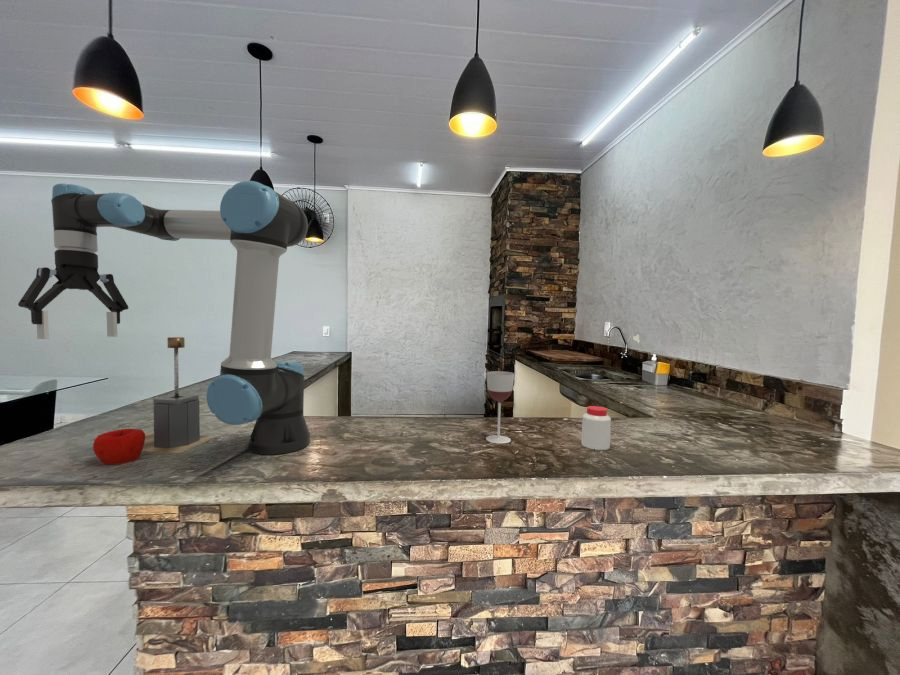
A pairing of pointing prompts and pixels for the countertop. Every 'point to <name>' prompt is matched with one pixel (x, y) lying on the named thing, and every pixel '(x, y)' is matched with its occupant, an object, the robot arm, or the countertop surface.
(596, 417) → the pill bottle
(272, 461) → the countertop surface
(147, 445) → the board
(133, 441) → the apple
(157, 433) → the gray octagonal holder
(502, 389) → the wineglass
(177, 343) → the plunger
